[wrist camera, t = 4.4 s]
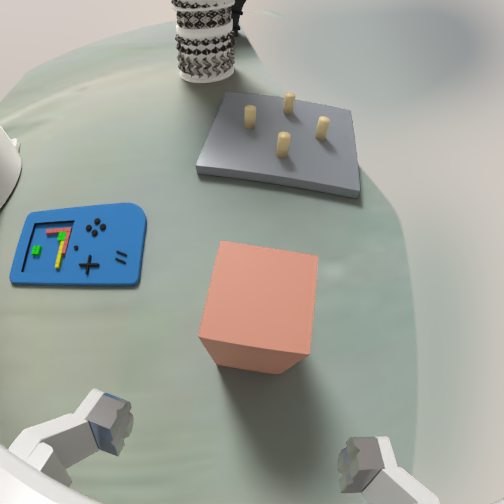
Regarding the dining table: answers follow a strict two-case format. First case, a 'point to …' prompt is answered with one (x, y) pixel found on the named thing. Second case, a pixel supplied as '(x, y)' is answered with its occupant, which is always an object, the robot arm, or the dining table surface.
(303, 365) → the dining table surface
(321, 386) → the dining table surface
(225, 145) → the plate
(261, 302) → the salmon pink block
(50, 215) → the handheld gaming device
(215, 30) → the decorative candle
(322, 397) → the dining table surface
